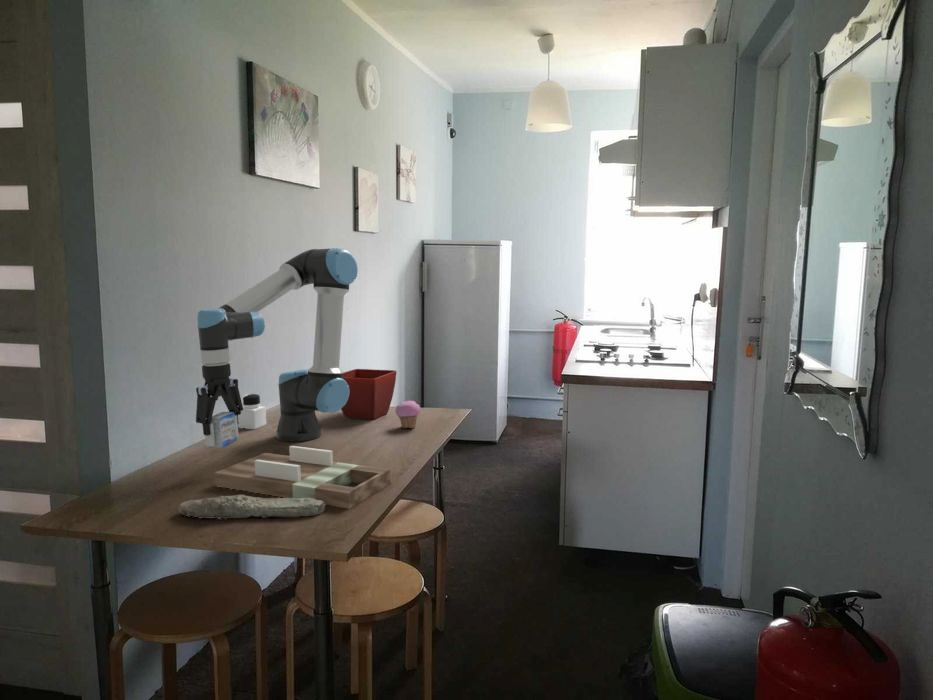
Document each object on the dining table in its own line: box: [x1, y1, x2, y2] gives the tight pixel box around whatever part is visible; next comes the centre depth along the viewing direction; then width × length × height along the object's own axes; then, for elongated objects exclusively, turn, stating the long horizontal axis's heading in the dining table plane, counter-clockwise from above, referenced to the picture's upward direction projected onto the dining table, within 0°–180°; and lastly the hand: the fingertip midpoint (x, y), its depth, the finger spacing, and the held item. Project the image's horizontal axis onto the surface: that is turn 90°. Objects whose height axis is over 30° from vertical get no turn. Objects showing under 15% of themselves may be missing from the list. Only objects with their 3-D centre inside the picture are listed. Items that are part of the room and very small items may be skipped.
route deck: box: [214, 452, 392, 510], centre depth 180 cm, size 20×43×4 cm, turn 66°
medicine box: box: [206, 411, 238, 449], centre depth 191 cm, size 8×4×9 cm, turn 168°
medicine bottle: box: [238, 393, 267, 430], centre depth 245 cm, size 7×7×12 cm
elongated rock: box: [178, 493, 326, 519], centre depth 161 cm, size 35×5×10 cm
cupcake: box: [395, 400, 421, 429], centre depth 240 cm, size 9×9×10 cm
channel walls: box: [255, 445, 334, 482], centre depth 181 cm, size 15×14×4 cm
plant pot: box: [340, 368, 398, 421], centre depth 260 cm, size 19×19×17 cm
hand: (222, 441), depth 191 cm, fingers closed on medicine box, 8 cm apart
